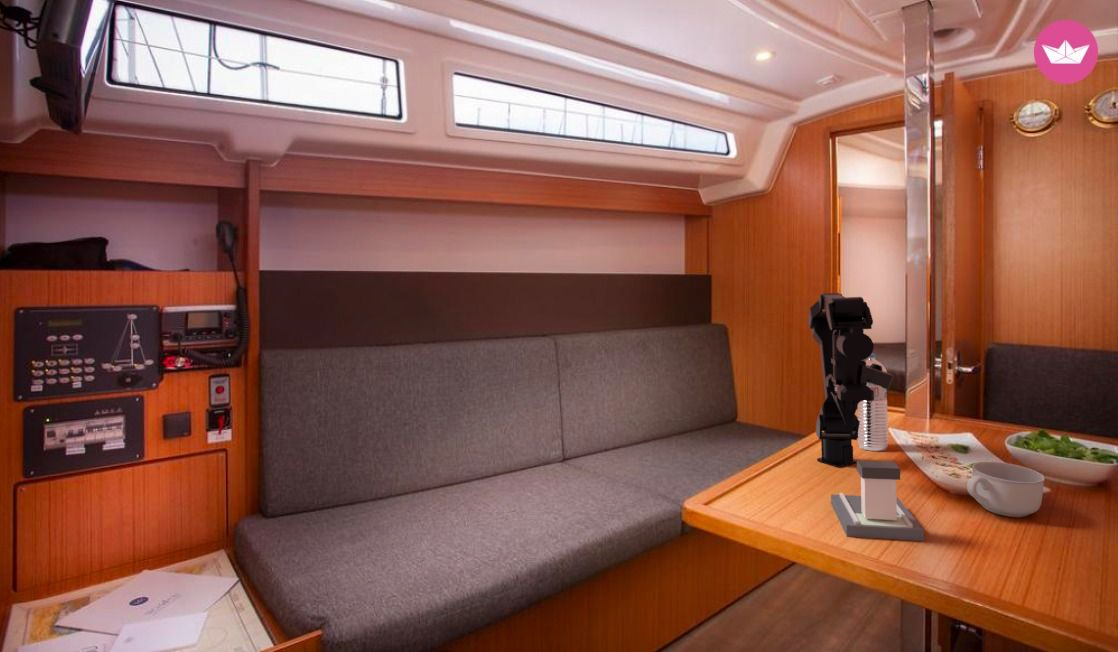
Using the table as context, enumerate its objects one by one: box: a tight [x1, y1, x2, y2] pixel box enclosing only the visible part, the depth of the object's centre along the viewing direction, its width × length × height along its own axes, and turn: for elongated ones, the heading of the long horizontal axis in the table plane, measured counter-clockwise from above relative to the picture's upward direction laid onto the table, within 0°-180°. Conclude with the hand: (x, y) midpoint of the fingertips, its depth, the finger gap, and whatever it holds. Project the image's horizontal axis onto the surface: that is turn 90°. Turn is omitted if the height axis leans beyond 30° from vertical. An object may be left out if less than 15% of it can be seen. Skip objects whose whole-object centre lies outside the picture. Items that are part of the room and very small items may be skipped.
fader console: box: [830, 492, 925, 542], centre depth 106 cm, size 15×12×3 cm
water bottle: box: [857, 353, 889, 452], centre depth 149 cm, size 7×7×25 cm
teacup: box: [966, 461, 1046, 518], centre depth 107 cm, size 14×11×8 cm
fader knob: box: [856, 459, 901, 520], centre depth 102 cm, size 4×6×10 cm, turn 74°
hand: (848, 425), depth 125 cm, fingers closed
